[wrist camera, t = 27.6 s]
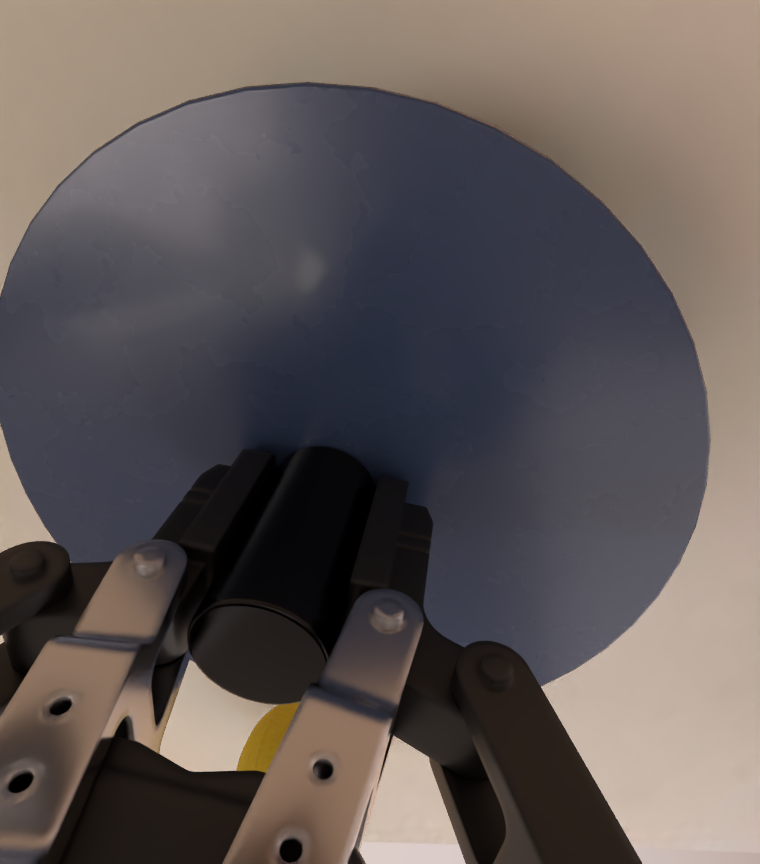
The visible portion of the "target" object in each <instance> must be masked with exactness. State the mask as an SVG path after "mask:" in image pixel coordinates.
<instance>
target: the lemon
mask: <svg viewBox="0 0 760 864" xmlns="http://www.w3.org/2000/svg"><path fill="white" fill-rule="evenodd" d="M299 704H300V703H299V702H298V703H293V704H284V705H278V706H276V707H275V708H273V709H272V710H271V711H270V712H268V713H267V714H266V715H265V716H264V717H263V718H262V719H261V720H260V721H259V722H258V724H257V725H256V726H255V728H254V729H253V731H252V733H251V735H250V736H249V738H248V740H247V742H246V744H245V746H244V748H243V751H242V753H241V756H240V759H239V762H238V766H237V771H252V770H257V771H261V772H265V773H266V772H267V770H268V768H269V766H270V764H271V762H272V760H273V758H274V755H275V753H276V751H277V749H278V747H279V745H280V743H281V741H282V739H283V737H284V735H285V733H286V731H287V728H288V726H289V724H290V722H291V720H292V718H293V716H294V714H295V712H296V710H297V708H298V706H299Z"/></svg>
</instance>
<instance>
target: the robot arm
mask: <svg viewBox="0 0 760 864" xmlns="http://www.w3.org/2000/svg"><path fill="white" fill-rule="evenodd" d="M275 466H276V458H275V455H274V454H271V453H266V452H261V451H256V450H251V449H246V448H244V449H243V450H242V451H241V452H240V454H239V455H238V457H237V458H236V460H235V461H234V462H233V464H232V465H231V466H227V465H222V464H217V465H216V466H214V467H212V468H211V469H209V470H207V471H206V472H204V473H202V474H201V475H200V476H199V478H198V479H197V480H196V482H195V483H194V484H193V486H192V487H191V490H189V491H188V492H187V494H186V495H185V496H184V497H183V500H182V501H180V503H179V504H178V505H177V507H176V508H175V509H174V511H173V512H172V513H171V515H170V516H169V517H168V519H167V520H166V521H165V523H164V524H163V525H162V526H161V528H160V529H159V530H158V532H157V533H156V534H155V536H154V537H153V538H152V539H151V540H144V541H140V542H137V543H135V544H132V545H130V546H128V547H126V548H125V549H124V550H122V551H121V552H120V553H119V554H118V555H117V556H116V558H115V559H114V561H109V562H89V563H70V558H69V554H68V552H67V550H66V549H65V548H64V547H62V546H60V545H58V544H56V543H52V542H46V541H35V542H28V543H23V544H20V545H17V546H14V547H12V548H9V549H7V550H5V551H3V552H1V553H0V635H3V639H4V642H3V643H2V644H0V864H366V863H365V861H364V860H363V858H362V856H361V854H360V849H361V845H362V842H363V839H364V836H365V832H366V829H367V825H368V821H369V818H370V814H371V811H372V807H373V804H374V800H375V797H376V794H377V790H378V787H379V784H380V780H381V777H382V774H383V770H384V767H385V764H386V761H387V757H388V754H389V751H390V747H391V744H392V741H393V738H394V736H396V737H397V738H399V739H401V740H402V741H404V742H405V743H407V744H409V745H410V746H412V747H414V748H415V749H417V750H418V751H420V752H422V753H423V754H425V755H427V756H428V757H429V759H430V764H431V768H432V770H433V773H434V776H435V779H436V782H437V784H438V787H439V790H440V793H441V796H442V798H443V801H444V804H445V807H446V809H447V812H448V815H449V818H450V821H451V823H452V826H453V829H454V832H455V835H456V837H457V840H458V843H459V846H460V848H461V851H462V854H463V857H464V860H465V862H466V864H642V862H641V860H640V859H639V857H638V855H637V853H636V852H635V850H634V848H633V846H632V845H631V843H630V841H629V840H628V838H627V836H626V834H625V833H624V831H623V829H622V827H621V826H620V824H619V822H618V820H617V819H616V817H615V815H614V813H613V812H612V810H611V808H610V807H609V805H608V803H607V801H606V800H605V798H604V796H603V794H602V793H601V791H600V789H599V787H598V786H597V784H596V782H595V780H594V779H593V777H592V775H591V774H590V772H589V770H588V768H587V767H586V765H585V763H584V761H583V760H582V758H581V756H580V754H579V753H578V751H577V749H576V747H575V746H574V744H573V742H572V741H571V739H570V737H569V735H568V734H567V732H566V730H565V728H564V727H563V725H562V723H561V721H560V720H559V718H558V716H557V714H556V713H555V711H554V709H553V707H552V706H551V704H550V702H549V701H548V699H547V697H546V695H545V694H544V692H543V690H542V688H541V687H540V685H539V683H538V681H537V680H536V678H535V676H534V674H533V673H532V671H531V669H530V668H529V666H528V664H527V663H526V661H525V660H524V659H523V658H522V657H521V656H520V655H519V654H518V653H517V652H516V651H514V650H513V649H511V648H510V647H508V646H506V645H504V644H501V643H498V642H494V641H477V642H473V643H471V644H469V645H467V646H466V647H463V646H461V645H459V644H457V643H455V642H453V641H451V640H449V639H448V638H446V637H444V636H443V635H442V634H440V633H439V632H438V631H437V630H436V629H435V628H434V627H433V626H432V625H431V623H430V622H429V620H428V618H427V617H426V614H425V611H424V594H425V586H426V578H427V570H428V562H429V553H430V546H431V538H432V530H433V521H432V518H431V516H430V514H429V512H428V509H427V507H424V506H419V505H414V504H409V503H405V499H406V494H407V489H408V484H409V482H406V481H401V480H396V479H392V478H387V477H382V476H380V477H379V480H378V483H377V487H376V491H375V494H374V498H373V501H372V505H371V508H370V512H369V515H368V519H367V522H366V526H365V529H364V533H363V536H362V540H361V543H360V547H359V551H358V554H357V558H356V561H355V565H354V568H353V572H352V575H351V579H350V584H349V591H348V597H347V604H346V611H345V615H346V616H345V624H344V627H343V629H342V631H341V633H340V636H339V638H338V640H337V642H336V644H335V646H334V648H333V651H332V653H331V655H330V657H329V659H328V661H327V663H326V665H325V668H324V670H323V672H322V674H321V676H320V678H319V680H318V682H317V683H315V682H312V683H311V684H310V685H309V686H308V688H307V690H306V691H305V693H304V695H303V697H302V699H301V701H300V704H299V706H298V708H297V710H296V712H295V714H294V716H293V718H292V720H291V722H290V724H289V726H288V728H287V731H286V733H285V735H284V737H283V739H282V741H281V743H280V745H279V747H278V749H277V751H276V753H275V755H274V758H273V760H272V762H271V764H270V766H269V768H268V770H267V772H266V773H265V772H261V771H257V770H252V771H218V772H191V771H188V770H186V769H184V768H182V767H180V766H179V765H177V764H175V763H174V762H172V761H170V760H169V759H167V758H165V757H163V756H162V755H160V754H159V751H160V745H161V741H162V737H163V734H164V731H165V728H166V725H167V722H168V719H169V716H170V713H171V711H172V708H173V705H174V702H175V699H176V696H177V693H178V691H179V688H180V685H181V682H182V679H183V676H184V673H185V671H186V668H187V665H188V662H189V659H190V656H191V654H190V652H189V648H188V643H187V631H188V627H189V623H190V621H191V619H192V617H193V616H194V614H195V612H196V610H197V609H198V607H199V605H200V603H201V602H202V600H203V598H204V596H205V595H206V593H207V591H208V589H209V588H210V586H211V584H212V582H213V580H214V579H215V577H216V575H217V573H218V572H219V570H220V568H221V566H222V565H223V563H224V561H225V559H226V558H227V556H228V554H229V552H230V550H231V549H232V547H233V545H234V543H235V542H236V540H237V538H238V536H239V535H240V533H241V531H242V529H243V528H244V526H245V524H246V522H247V521H248V519H249V517H250V515H251V513H252V512H253V510H254V508H255V506H256V505H257V503H258V501H259V499H260V498H261V496H262V494H263V492H264V491H265V489H266V487H267V485H268V484H269V482H270V480H271V478H272V476H273V475H274V473H275Z"/></svg>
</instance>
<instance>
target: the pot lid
mask: <svg viewBox="0 0 760 864" xmlns="http://www.w3.org/2000/svg"><path fill="white" fill-rule="evenodd" d="M0 424H1V427H2V430H3V434H4V437H5V440H6V444H7V447H8V451H9V454H10V457H11V460H12V462H13V465H14V467H15V469H16V472H17V474H18V476H19V479H20V481H21V483H22V486H23V488H24V490H25V493H26V494H27V496H28V498H29V500H30V502H31V503H32V505H33V507H34V509H35V510H36V512H37V514H38V516H39V517H40V519H41V521H42V523H43V524H44V526H45V527H46V529H47V530H48V532H49V533H50V534H51V536H52V537H53V539H54V540H55V541H56V543H57V544H58V545H60V546H62V547H64V548H65V549H66V550H67V552H68V554H69V558H70V561H71V562H72V563H89V562H109V561H114V559H115V558H116V556H117V555H118V554H119V553H120V552H121V551H122V550H124V549H125V548H126V547H128V546H130V545H132V544H135V543H137V542H140V541H144V540H151V539H152V538H153V537H154V536H155V534H156V533H157V532H158V530H159V529H160V528H161V526H162V525H163V524H164V523H165V521H166V520H167V519H168V517H169V516H170V515H171V513H172V512H173V511H174V509H175V508H176V507H177V505H178V504H179V503H180V501H182V500H183V497H184V496H185V495H186V494H187V492H188V491H189V490H191V487H192V486H193V484H194V483H195V482H196V480H197V479H198V478H199V476H200V475H201V474H202V473H204V472H206V471H207V470H209V469H211V468H212V467H214V466H216V465H217V464H222V465H227V466H231V465H232V464H233V462H234V461H235V460H236V458H237V457H238V455H239V454H240V452H241V451H242V450H243V449H244V448H246V449H251V450H256V451H261V452H266V453H271V454H274V455H275V458H276V466H275V473H274V475H273V476H272V478H271V480H270V482H269V484H268V485H267V487H266V489H265V491H264V492H263V494H262V496H261V498H260V499H259V501H258V503H257V505H256V506H255V508H254V510H253V512H252V513H251V515H250V517H249V519H248V521H247V522H246V524H245V526H244V528H243V529H242V531H241V533H240V535H239V536H238V538H237V540H236V542H235V543H234V545H233V547H232V549H231V550H230V552H229V554H228V556H227V558H226V559H225V561H224V563H223V565H222V566H221V568H220V570H219V572H218V573H217V575H216V577H215V579H214V580H213V582H212V584H211V586H210V588H209V589H208V591H207V593H206V595H205V596H204V598H203V600H202V602H201V603H200V605H199V607H198V609H197V610H196V612H195V614H194V616H193V617H192V619H191V621H190V623H189V627H188V631H187V643H188V648H189V652H190V654H191V656H190V660H191V661H193V662H195V663H196V665H197V666H198V667H199V669H200V670H201V671H202V672H203V673H204V674H205V675H206V676H207V677H208V678H209V679H210V680H212V681H213V682H214V683H215V684H217V685H218V686H220V687H221V688H223V689H225V690H226V691H228V692H230V693H232V694H234V695H237V696H239V697H242V698H244V699H247V700H251V701H254V702H259V703H264V704H273V705H284V704H293V703H298V702H299V703H300V701H301V699H302V697H303V695H304V693H305V691H306V690H307V688H308V686H309V685H310V684H311V683H312V682H315V683H317V682H318V680H319V678H320V676H321V674H322V672H323V670H324V668H325V665H326V663H327V661H328V659H329V657H330V655H331V653H332V651H333V648H334V646H335V644H336V642H337V640H338V638H339V636H340V633H341V631H342V629H343V627H344V624H345V616H346V615H345V611H346V604H347V597H348V591H349V584H350V579H351V575H352V572H353V568H354V565H355V561H356V558H357V554H358V551H359V547H360V543H361V540H362V536H363V533H364V529H365V526H366V522H367V519H368V515H369V512H370V508H371V505H372V501H373V498H374V494H375V491H376V487H377V483H378V480H379V477H380V476H382V477H387V478H392V479H396V480H401V481H406V482H409V484H408V489H407V494H406V499H405V503H409V504H414V505H419V506H424V507H427V509H428V512H429V514H430V516H431V518H432V521H433V530H432V538H431V546H430V553H429V562H428V570H427V578H426V586H425V594H424V611H425V614H426V617H427V618H428V620H429V622H430V623H431V625H432V626H433V627H434V628H435V629H436V630H437V631H438V632H439V633H440V634H442V635H443V636H444V637H446V638H448V639H449V640H451V641H453V642H455V643H457V644H459V645H461V646H463V647H466V646H467V645H469V644H471V643H473V642H477V641H494V642H498V643H501V644H504V645H506V646H508V647H510V648H511V649H513V650H514V651H516V652H517V653H518V654H519V655H520V656H521V657H522V658H523V659H524V660H525V661H526V663H527V664H528V666H529V668H530V669H531V671H532V673H533V674H534V676H535V678H536V680H537V681H538V683H539V685H540V686H543V685H545V684H547V683H549V682H551V681H553V680H555V679H557V678H559V677H561V676H563V675H565V674H567V673H569V672H571V671H573V670H575V669H576V668H578V667H579V666H581V665H582V664H584V663H585V662H587V661H588V660H590V659H591V658H593V657H594V656H596V655H597V654H599V653H600V652H602V651H603V650H605V649H606V648H607V647H608V646H610V645H611V644H612V643H613V642H614V641H615V640H616V639H618V638H619V637H620V636H621V635H622V634H623V633H624V632H626V631H627V630H628V629H629V628H630V627H631V626H633V625H634V623H635V622H636V621H637V620H638V619H639V618H640V617H641V615H642V614H643V613H644V612H645V611H646V610H647V609H648V607H649V606H650V605H651V604H652V603H653V602H654V601H655V599H656V598H657V597H658V596H659V594H660V593H661V591H662V590H663V588H664V587H665V585H666V583H667V582H668V580H669V579H670V577H671V576H672V574H673V573H674V571H675V569H676V568H677V566H678V565H679V563H680V561H681V559H682V556H683V554H684V552H685V550H686V547H687V545H688V543H689V541H690V538H691V536H692V534H693V532H694V529H695V527H696V523H697V520H698V516H699V512H700V508H701V504H702V500H703V497H704V493H705V489H706V485H707V475H708V463H709V452H710V441H711V439H710V426H709V414H708V402H707V391H706V387H705V383H704V380H703V376H702V372H701V368H700V364H699V360H698V356H697V352H696V348H695V344H694V341H693V339H692V337H691V335H690V332H689V330H688V328H687V326H686V323H685V321H684V319H683V316H682V314H681V312H680V310H679V307H678V305H677V303H676V300H675V298H674V296H673V294H672V292H671V291H670V289H669V288H668V286H667V284H666V283H665V281H664V280H663V278H662V277H661V275H660V274H659V272H658V271H657V269H656V267H655V266H654V264H653V263H652V261H651V260H650V258H649V257H648V255H647V254H646V252H645V250H644V249H643V247H642V246H641V245H640V244H639V242H638V241H637V240H636V239H635V238H634V237H633V236H632V235H631V234H630V232H629V231H628V230H627V229H626V228H625V227H624V226H623V225H622V224H621V222H620V221H619V220H618V219H617V218H616V217H615V216H614V215H613V213H612V212H611V211H610V210H609V209H608V208H607V207H606V206H605V205H604V203H603V202H602V201H601V200H600V199H599V198H597V197H596V196H595V195H594V194H593V193H591V192H590V191H589V190H588V189H586V188H585V187H584V186H583V185H582V184H580V183H579V182H578V181H577V180H575V179H574V178H573V177H572V176H571V175H569V174H568V173H567V172H566V171H564V170H563V169H562V168H561V167H560V166H558V165H557V164H556V163H555V162H553V161H552V160H551V159H550V158H548V157H547V156H545V155H543V154H541V153H540V152H538V151H536V150H535V149H533V148H531V147H530V146H528V145H526V144H525V143H523V142H521V141H520V140H518V139H516V138H515V137H513V136H511V135H509V134H508V133H506V132H504V131H503V130H501V129H499V128H498V127H496V126H494V125H491V124H489V123H486V122H484V121H481V120H479V119H476V118H474V117H472V116H469V115H467V114H464V113H462V112H459V111H457V110H454V109H452V108H449V107H447V106H444V105H442V104H439V103H437V102H433V101H429V100H425V99H420V98H416V97H412V96H408V95H404V94H400V93H395V92H391V91H387V90H383V89H379V88H373V87H362V86H350V85H338V84H326V83H313V82H301V83H288V84H274V85H261V86H248V87H242V88H238V89H234V90H230V91H226V92H222V93H217V94H213V95H209V96H205V97H201V98H197V99H193V100H189V101H186V102H184V103H182V104H179V105H177V106H175V107H172V108H170V109H168V110H165V111H163V112H161V113H158V114H156V115H154V116H151V117H149V118H147V119H144V120H142V121H140V122H138V123H136V124H135V125H133V126H131V127H130V128H128V129H127V130H125V131H124V132H122V133H121V134H119V135H118V136H116V137H115V138H113V139H112V140H110V141H109V142H107V143H105V144H104V145H102V146H101V147H99V148H98V149H96V150H95V151H94V152H93V153H91V154H90V155H89V156H88V157H87V158H86V159H85V160H84V161H83V162H82V163H81V164H80V165H79V166H78V167H77V168H76V169H74V170H73V171H72V172H71V173H70V174H69V175H68V176H67V177H66V178H65V179H64V180H63V181H62V182H61V183H60V184H59V185H58V186H57V187H56V189H55V190H54V191H53V193H52V194H51V195H50V197H49V198H48V200H47V201H46V202H45V204H44V205H43V206H42V208H41V209H40V210H39V212H38V213H37V214H36V216H35V217H34V218H33V220H32V221H31V223H30V225H29V227H28V229H27V231H26V233H25V235H24V237H23V239H22V241H21V243H20V245H19V247H18V249H17V251H16V253H15V255H14V257H13V259H12V261H11V263H10V266H9V270H8V273H7V276H6V279H5V283H4V286H3V289H2V293H1V296H0Z"/></svg>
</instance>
